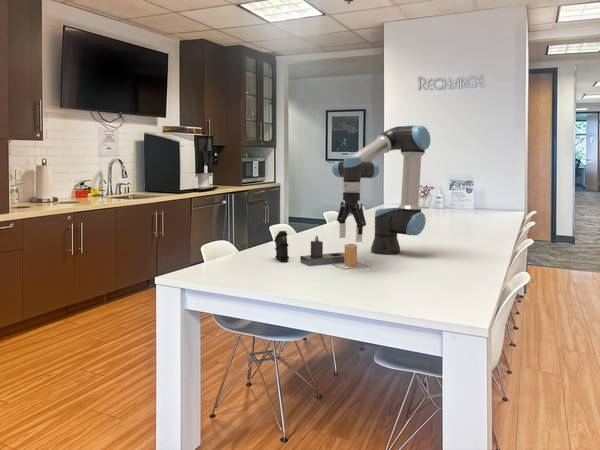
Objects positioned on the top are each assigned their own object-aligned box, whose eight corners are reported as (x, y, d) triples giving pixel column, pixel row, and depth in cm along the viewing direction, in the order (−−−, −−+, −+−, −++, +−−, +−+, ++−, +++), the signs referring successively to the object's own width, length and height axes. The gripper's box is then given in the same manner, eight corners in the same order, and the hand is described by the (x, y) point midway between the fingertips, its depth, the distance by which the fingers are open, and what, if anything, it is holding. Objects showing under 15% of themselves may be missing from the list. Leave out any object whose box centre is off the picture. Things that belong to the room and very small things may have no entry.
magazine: (282, 262, 235) (279, 230, 239) (276, 269, 247) (273, 239, 251) (290, 261, 236) (287, 230, 240) (284, 269, 248) (280, 239, 252)
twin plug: (318, 261, 239) (318, 235, 238) (322, 263, 236) (322, 236, 234) (310, 262, 237) (310, 235, 236) (314, 264, 234) (314, 237, 232)
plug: (351, 265, 234) (352, 243, 233) (356, 267, 230) (357, 245, 229) (344, 266, 232) (344, 244, 231) (349, 268, 229) (349, 245, 227)
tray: (356, 263, 240) (356, 261, 240) (371, 268, 229) (371, 266, 229) (330, 266, 233) (330, 264, 233) (344, 271, 223) (344, 269, 223)
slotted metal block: (341, 260, 248) (341, 252, 247) (351, 263, 240) (351, 255, 239) (300, 264, 238) (300, 256, 237) (309, 268, 230) (309, 259, 229)
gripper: (329, 190, 236) (329, 236, 239) (360, 193, 214) (358, 244, 217) (344, 190, 240) (342, 235, 242) (375, 193, 218) (373, 243, 220)
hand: (350, 239), depth 230 cm, fingers open, 13 cm apart
